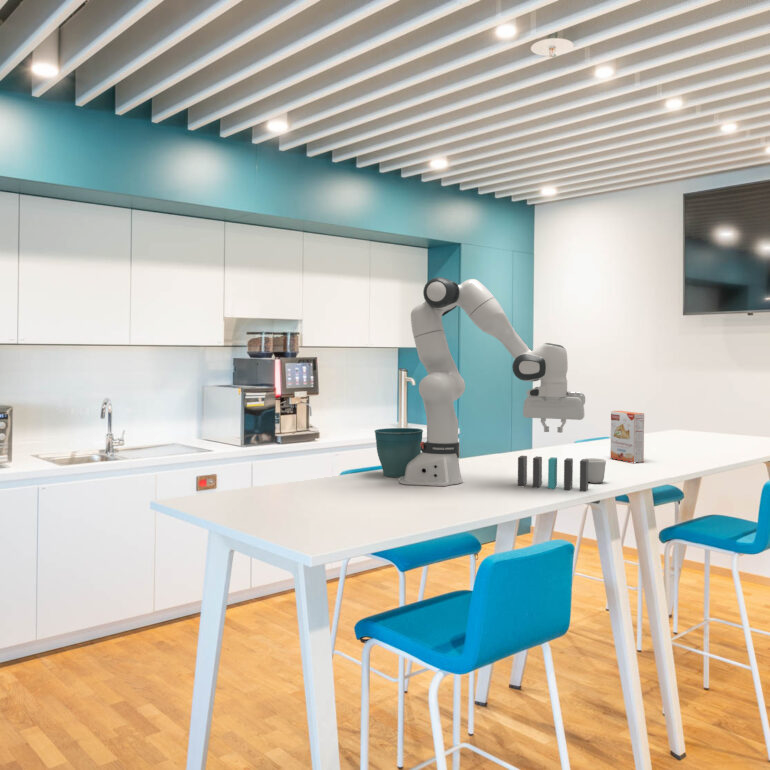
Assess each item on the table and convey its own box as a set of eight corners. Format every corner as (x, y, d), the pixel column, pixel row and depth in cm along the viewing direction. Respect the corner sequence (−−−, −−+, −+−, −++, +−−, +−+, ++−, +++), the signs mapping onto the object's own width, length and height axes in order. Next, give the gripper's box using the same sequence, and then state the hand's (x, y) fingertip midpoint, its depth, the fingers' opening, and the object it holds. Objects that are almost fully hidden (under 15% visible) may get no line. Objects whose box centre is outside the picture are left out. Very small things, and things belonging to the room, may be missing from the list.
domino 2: (541, 485, 256) (541, 456, 255) (538, 487, 251) (538, 458, 251) (535, 485, 256) (536, 456, 256) (532, 487, 252) (533, 458, 251)
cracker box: (609, 459, 319) (610, 410, 318) (620, 458, 322) (621, 410, 321) (633, 463, 306) (633, 413, 305) (644, 462, 309) (644, 412, 308)
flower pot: (365, 477, 273) (365, 431, 272) (388, 470, 289) (388, 426, 288) (409, 481, 264) (410, 433, 264) (430, 473, 280) (430, 429, 280)
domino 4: (588, 488, 250) (588, 459, 249) (585, 491, 245) (586, 461, 244) (582, 488, 250) (582, 459, 250) (579, 491, 246) (580, 461, 245)
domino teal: (556, 486, 254) (557, 457, 253) (554, 489, 249) (554, 459, 249) (550, 486, 254) (551, 457, 254) (548, 488, 250) (548, 459, 249)
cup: (572, 479, 267) (573, 457, 267) (591, 478, 270) (591, 456, 270) (591, 484, 257) (591, 461, 257) (610, 483, 260) (610, 460, 260)
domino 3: (572, 487, 252) (572, 458, 251) (569, 490, 247) (570, 460, 247) (566, 487, 252) (566, 458, 252) (563, 489, 248) (564, 460, 247)
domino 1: (526, 484, 258) (527, 455, 257) (523, 486, 253) (523, 457, 253) (521, 484, 259) (521, 455, 258) (517, 486, 254) (518, 457, 253)
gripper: (586, 391, 249) (586, 432, 250) (526, 390, 257) (525, 429, 258) (583, 392, 243) (583, 434, 244) (522, 391, 251) (521, 431, 252)
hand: (553, 432), depth 251 cm, fingers open, 3 cm apart
